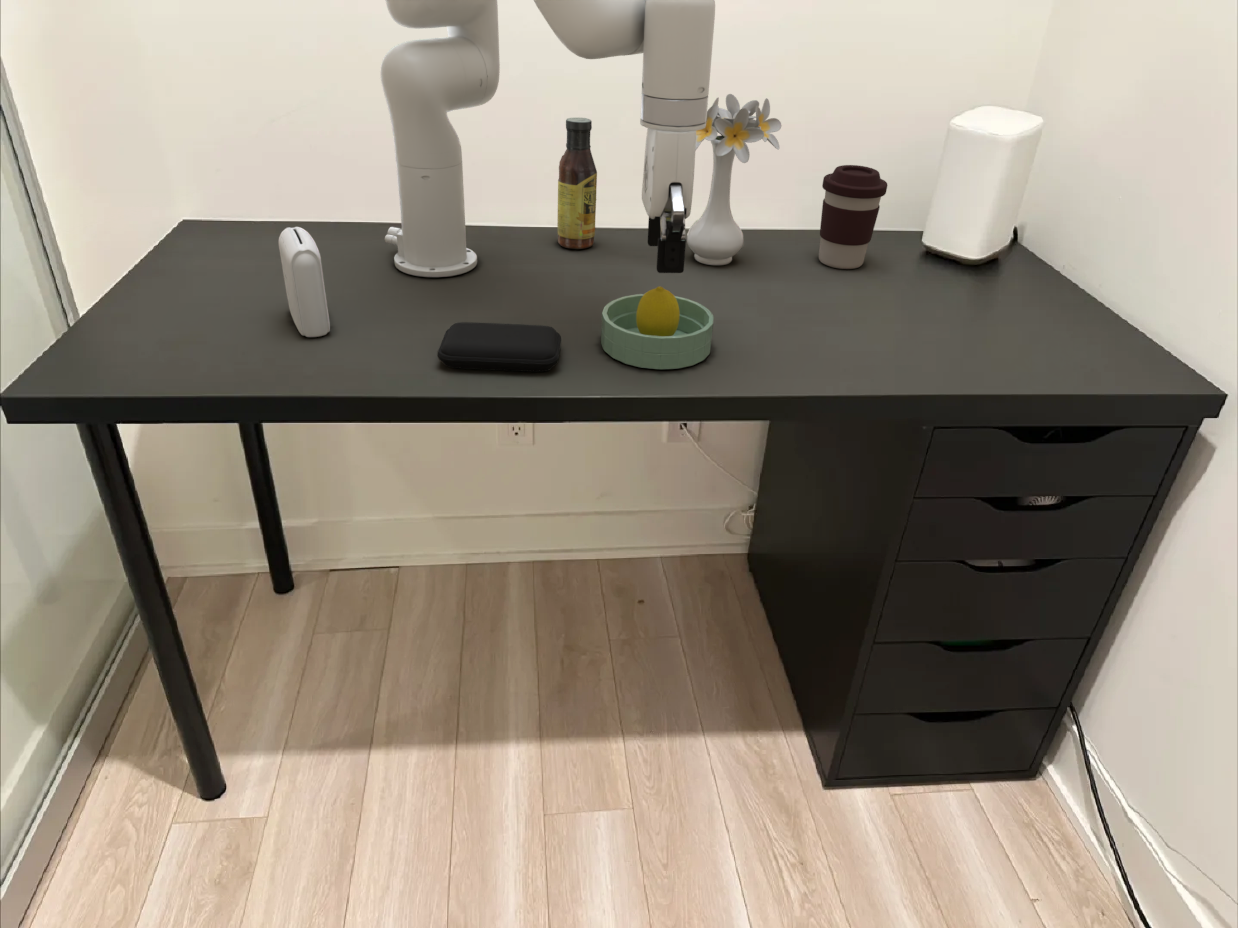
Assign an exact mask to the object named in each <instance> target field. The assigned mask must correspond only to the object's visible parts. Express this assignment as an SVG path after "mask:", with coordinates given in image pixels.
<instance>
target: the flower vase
mask: <svg viewBox="0 0 1238 928" xmlns="http://www.w3.org/2000/svg"><path fill="white" fill-rule="evenodd" d="M719 100H720V98H719V97H716V99H715V100H714V101H713V103H712V105H711V106H710V107H709V108H707V119H706V127H705V128H704V129H701V130H697V131H696V150H697V149H698V148H699V147H700V145H701V143H702V142H704V140H706V141H707V142H708V141H709V142H710V144H711V147H712V174H711V181H710V188H709V194H708V195H709V196H708V200H707V203H706V206H705V209H704V210H703V212H702V214H701V216H700V217H699V218H698V219H697V220H695V221H694V222H693V223H692V224H691V225H690V227H689V228H688V231H687V233H686V238H685V239H686V245H687V246H688V248H689V249H690V251H691V252H693V253H694V255H693V258H694V259H695V261H697V262H698V263H700V264H704V265H708V266H724V265H729V264H730V263H731V262H732V261H733V257H734V256H736V255H737V254H738V253H739V252H740V251H741V250H742V249H743V248H744V243H745V237H744V232H743V231H742V229H741V227H740V226H739V224H738V223H737V222H736V221H735V218H734V216H733V213H732V209H731V185H732V184H731V183H732V173H733V164H734V160H735V157H736V158H737V160H738V161H739V162H741V163H742V164H746V163H748V162H749V160H750V148H749V146H748V144H749V143H751V144H752V143H756V142H760V141H761V140H762V141H763V142H764V143H766V142H767V141H768V143H770V145H772V146H773V147H774V148H775V149H776V150H780V144H779V141H778V139H777V136H775V135H774V134H773V133H776V132H779V131H780V130H781V129H782V126H783V125H782V121H780V119H778V118H776V117H772V118H769V117H770V113H771V104H770V100H769V99H768V98H765V99H764V101H763V103H762V107H761V108H760V101H758V100H757V99H753V100H750V101H748V102H746V103H745V104H744V105H743V106H742V107H741V106H740V105H741V104H740V102H739V100H738V99H737V97H736V96H735V95H734V94H732V93H728V94H726V96H725V106H726V109H725V108H721V107H719ZM754 114H755V116H754ZM718 134H719V135H718ZM747 143H748V144H747Z"/></svg>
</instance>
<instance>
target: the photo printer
mask: <svg viewBox="0 0 1238 928" xmlns="http://www.w3.org/2000/svg"><path fill="white" fill-rule="evenodd" d="M277 242H278V243H277V244H278V249H279V257H280V262H281V268H282V275H283V280H284V287H285V293H286V298H287V304H288V309H289V312H290V316H291V318H292V321H293V323H294V325H295V327H296V329H297V330H298V332H299V334H300V335H301V336H302V337H303V336H305V337H306V338H317V337H318V338H319V337H322V336H326V335H327V334H328V333H330V331H331V321H330V315H329V308H328V301H327V294H326V286H325V280H324V272H323V264H322V257H321V252H320V250H319V248H318V245H317V243H316V241H315V239H314V238H313V236H312V235H311V234H310V232H308V230H306V229H304V228H302V227H300V226H294V227H286V228H284V229H283V230H282V231H281V233H280V234H279V237H278V241H277Z"/></svg>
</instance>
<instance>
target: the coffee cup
mask: <svg viewBox="0 0 1238 928" xmlns="http://www.w3.org/2000/svg"><path fill="white" fill-rule="evenodd" d="M822 189H823V190H824V192H825V193H824V198H823V200H822V207H821V218H820V228H819V236H820V243H819V251H818V260H819V261H820V263H822V264H823V265H825V266H827V267H831V268H835V269H841V270H852V269H857V268H861V266H862V265H863V264H864V262H865V257H866V255H867V250H868V247H869V243H870V242H871V240H872V238H873V233H874V229H875V225H876V222H877V219H878V216H879V211H880V207H881V205H880V202H881V199H882V198H883V197H884V196H885V195H886V194H887V189H888V182H887V181H886V180H884V179H882V178H881V175H880V171H878V170H877V169H875V168H872V167H869V166H864V165H857V164H843V165H838V166H837V167H835V168H834V170H833V172H831V173H828V174H826V175H824V176H823V179H822Z"/></svg>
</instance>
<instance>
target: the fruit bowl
mask: <svg viewBox="0 0 1238 928" xmlns="http://www.w3.org/2000/svg"><path fill="white" fill-rule="evenodd" d="M644 294H645V293H637V294H631V295H625V296H622V297H621V296H620V297H618V298H616V299H613V300H611V301H609V302H608V303H607V304H606V305H604V307H603V310H602V312H601V333H600V344H601V347H602V349H603V351H604V352H605V353H606V354H607V355H608V356H609V357H611V358H612V359H615V360H616V361H619V362H621V363H623V364H625V365H629V366H633V367H636V368H642V369H650V370H651V369H652V370H677V369H683V368H687V367H692V366H694V365H697V364H698V363H701V362H703V361H705V359H706V358H707V357H708V356H709V355H710V353H711V347H712V337H713V330H714V329H713V328H714V318H715V316H714V315H713V313H712V312H711V310H710V309H709V308H707V307H706V306H704V305H703V304H701V303H700V302H697V301H694V300H692V299H689V298H686V297H681V296H677V295H674V296H675V298H676V300H677V302H678V306H679V313H680V316H679V323H678V327H677V330H676V332H675V333H674V335H673V336H653V335H644V334H640V332H639V330H638V327H637V322H636V314H637V308H638V305H639V302H640V300H641V298H642V297H643V295H644Z"/></svg>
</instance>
